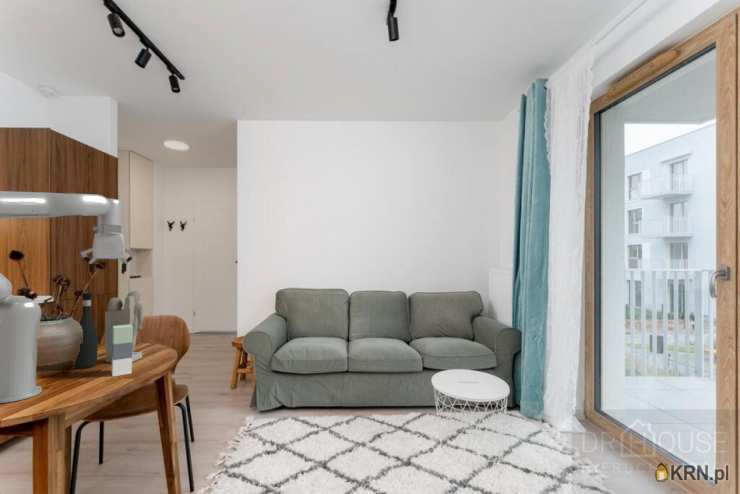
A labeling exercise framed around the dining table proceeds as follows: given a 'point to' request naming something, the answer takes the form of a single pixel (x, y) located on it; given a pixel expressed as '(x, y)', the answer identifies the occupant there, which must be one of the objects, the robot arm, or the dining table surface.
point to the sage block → (122, 334)
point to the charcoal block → (121, 351)
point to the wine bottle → (87, 337)
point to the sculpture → (123, 321)
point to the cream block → (121, 366)
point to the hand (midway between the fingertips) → (108, 273)
